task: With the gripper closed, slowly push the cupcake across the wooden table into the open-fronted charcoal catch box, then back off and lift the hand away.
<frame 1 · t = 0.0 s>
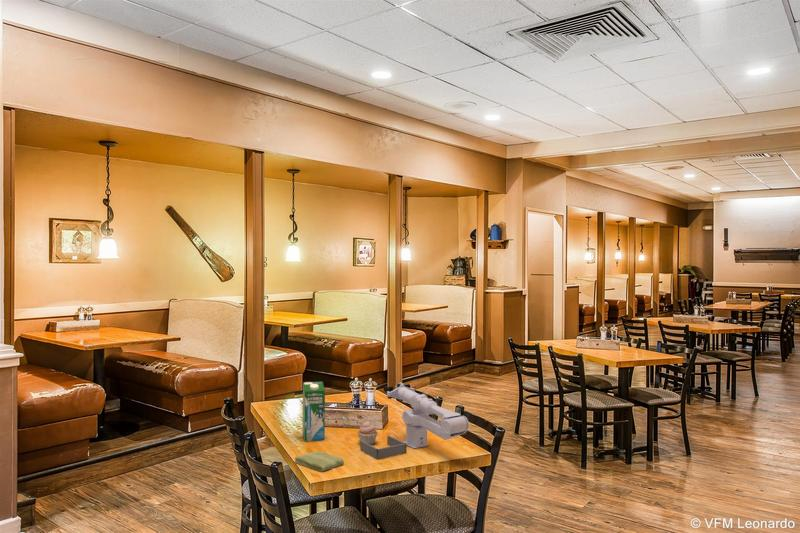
hand: (391, 387, 269), 22 cm above the table, tool horizontal, fingers open, 7 cm apart
cupcake: (367, 443, 254), on the table
catch box: (382, 451, 244), on the table
milk carton: (313, 438, 261), on the table
washcloth: (319, 464, 229), on the table
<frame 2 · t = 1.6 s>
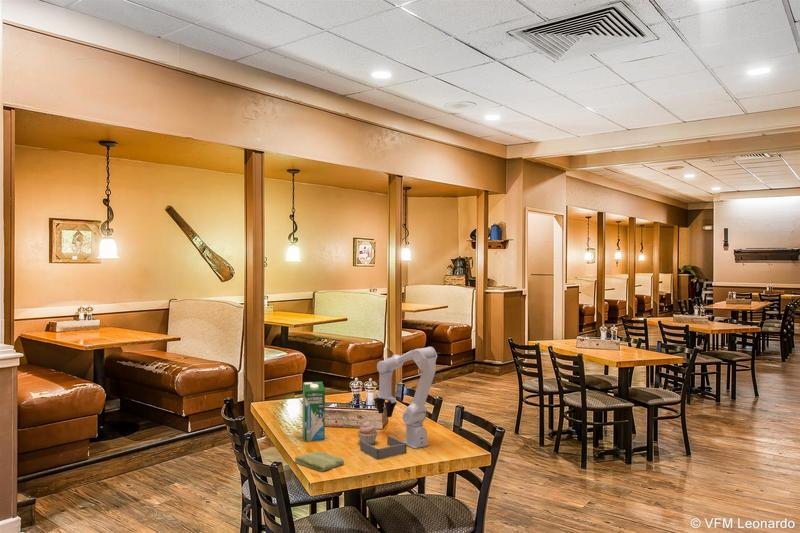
hand: (385, 415, 266), 9 cm above the table, tool pointing down, fingers open, 7 cm apart
nothing on the table moved.
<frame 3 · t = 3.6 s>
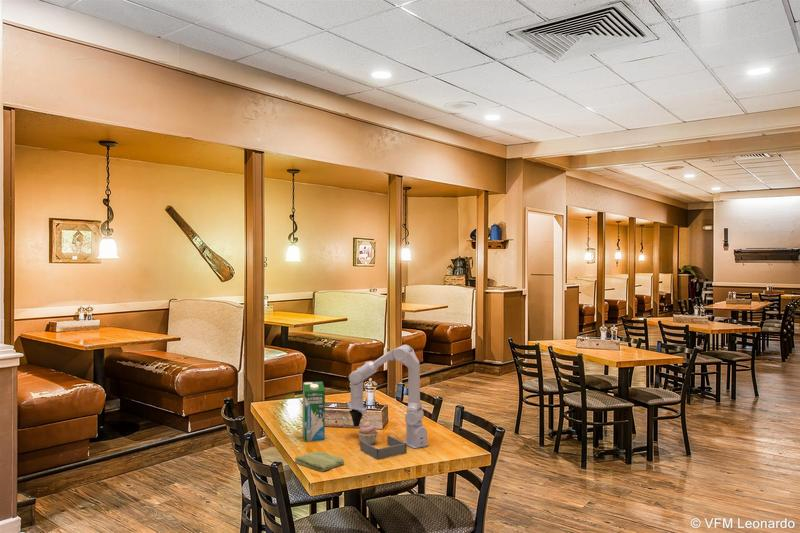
hand: (356, 425, 262), 5 cm above the table, tool pointing down, fingers closed
nothing on the table moved.
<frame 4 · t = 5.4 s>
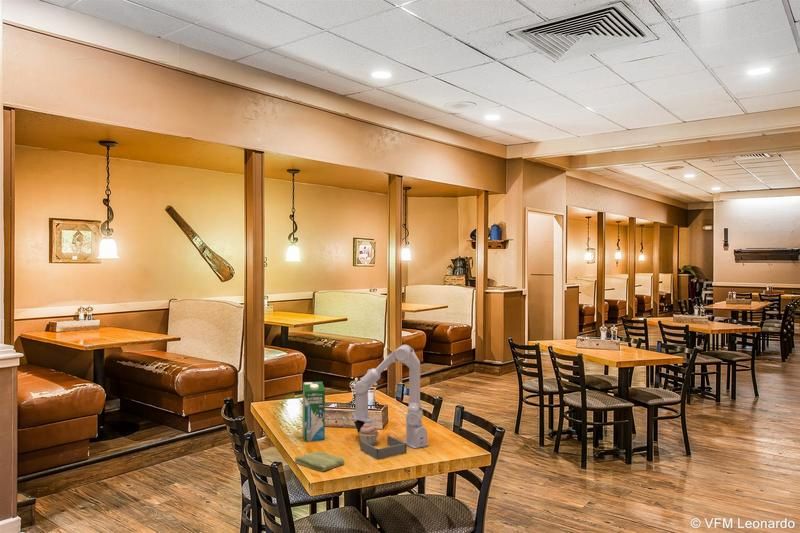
hand: (361, 436, 259), 1 cm above the table, tool pointing down, fingers closed
cupcake: (368, 444, 254), on the table, touching gripper
everything else where it was.
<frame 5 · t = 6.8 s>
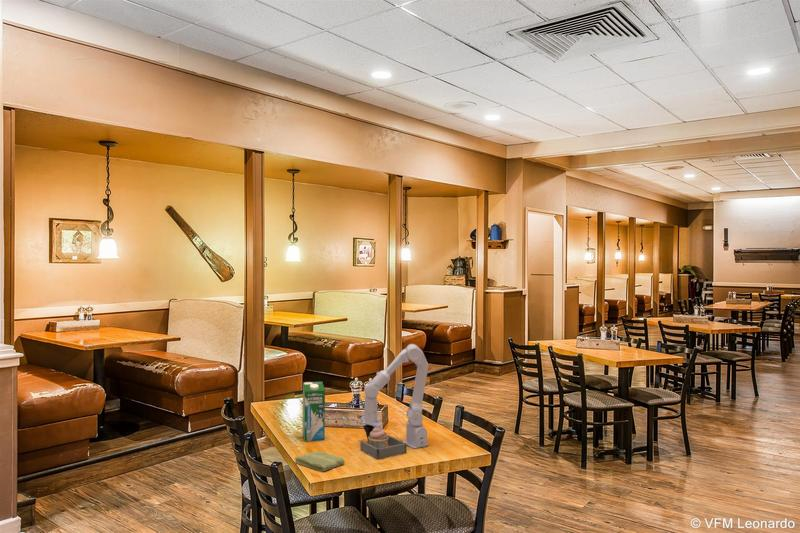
hand: (370, 441, 252), 1 cm above the table, tool pointing down, fingers closed
cupcake: (378, 449, 247), on the table, touching gripper
everything else where it was.
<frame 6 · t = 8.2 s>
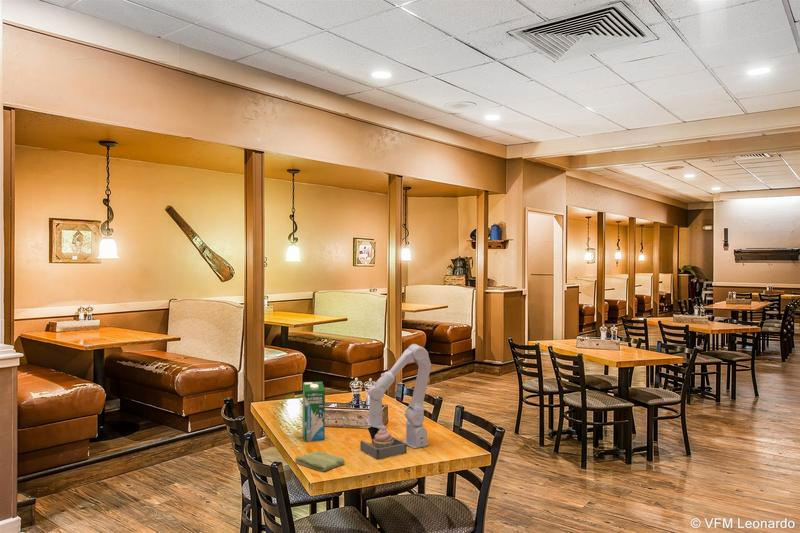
hand: (375, 444, 249), 1 cm above the table, tool pointing down, fingers closed
cupcake: (383, 451, 244), on the table, touching gripper
everything else where it was.
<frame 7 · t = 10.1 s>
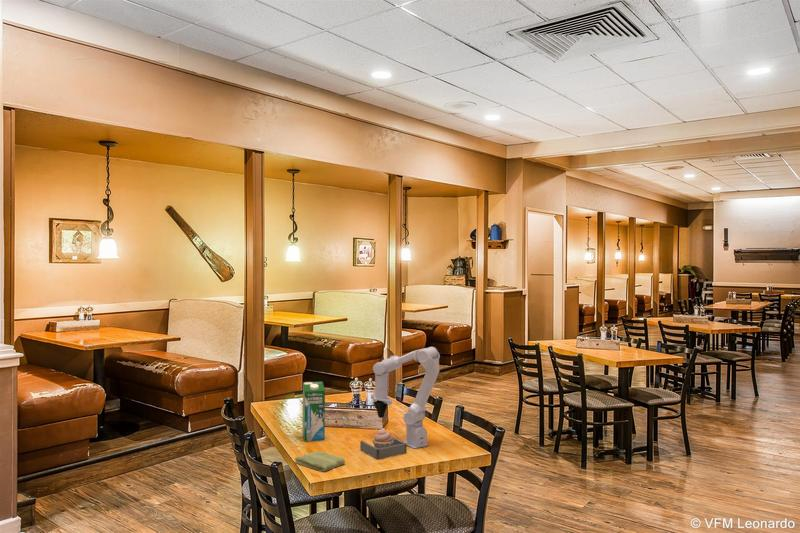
hand: (381, 417, 263), 9 cm above the table, tool pointing down, fingers closed
cupcake: (383, 451, 244), on the table
everything else where it was.
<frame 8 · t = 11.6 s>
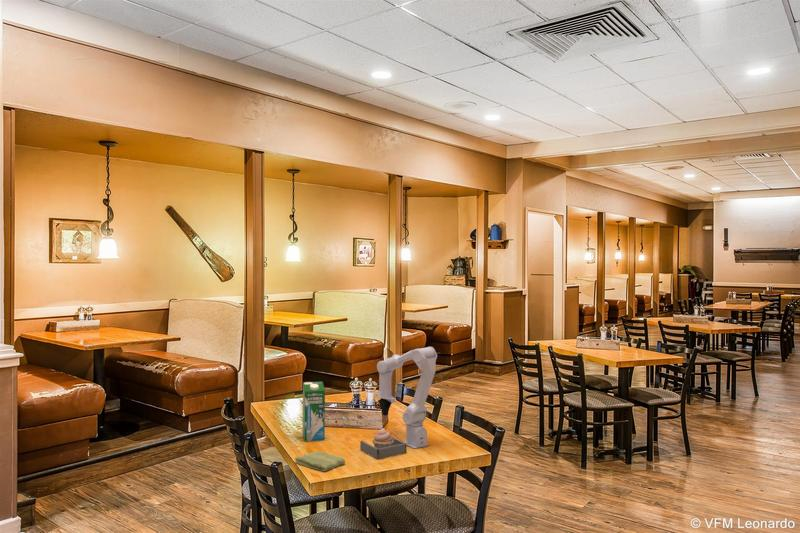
hand: (385, 415, 266), 9 cm above the table, tool pointing down, fingers closed
nothing on the table moved.
at the end: cupcake inside the target area (0.8 cm from its centre), on the table; cupcake moved 12.7 cm from its start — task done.
